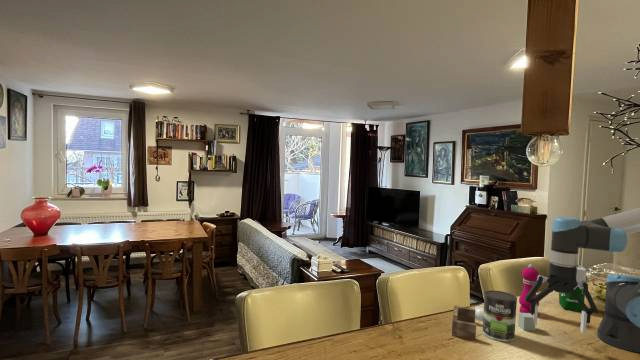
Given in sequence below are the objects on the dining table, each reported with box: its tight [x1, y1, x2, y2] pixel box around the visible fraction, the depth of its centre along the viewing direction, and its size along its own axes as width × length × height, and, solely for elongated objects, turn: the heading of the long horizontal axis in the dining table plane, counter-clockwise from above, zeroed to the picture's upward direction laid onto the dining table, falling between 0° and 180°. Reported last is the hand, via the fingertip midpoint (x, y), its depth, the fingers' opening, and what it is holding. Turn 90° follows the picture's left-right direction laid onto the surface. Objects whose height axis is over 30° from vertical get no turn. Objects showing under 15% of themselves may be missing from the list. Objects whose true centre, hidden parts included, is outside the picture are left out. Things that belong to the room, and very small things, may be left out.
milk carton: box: [558, 262, 587, 313], centre depth 156 cm, size 9×9×20 cm
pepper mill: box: [518, 263, 540, 315], centre depth 149 cm, size 7×7×20 cm
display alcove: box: [451, 305, 477, 341], centre depth 132 cm, size 8×16×5 cm, turn 158°
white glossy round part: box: [474, 305, 484, 322], centre depth 142 cm, size 7×7×4 cm
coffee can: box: [481, 290, 518, 343], centre depth 127 cm, size 10×10×14 cm
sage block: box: [517, 312, 536, 332], centre depth 134 cm, size 4×4×5 cm
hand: (558, 327), depth 121 cm, fingers open, 13 cm apart
